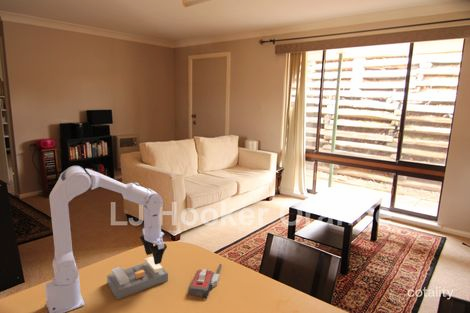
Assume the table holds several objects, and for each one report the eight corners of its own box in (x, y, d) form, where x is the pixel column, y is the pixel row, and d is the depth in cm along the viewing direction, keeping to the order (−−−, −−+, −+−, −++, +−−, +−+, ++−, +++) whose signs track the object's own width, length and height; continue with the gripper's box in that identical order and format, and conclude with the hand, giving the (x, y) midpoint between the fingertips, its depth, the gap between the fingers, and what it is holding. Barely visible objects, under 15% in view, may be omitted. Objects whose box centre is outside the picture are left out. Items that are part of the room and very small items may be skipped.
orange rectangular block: (136, 279, 106) (136, 274, 106) (134, 276, 107) (134, 272, 107) (144, 276, 108) (144, 271, 108) (143, 274, 109) (143, 269, 109)
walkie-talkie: (212, 301, 102) (223, 267, 121) (212, 289, 101) (223, 257, 120) (187, 298, 103) (201, 265, 122) (187, 286, 102) (201, 255, 121)
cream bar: (154, 273, 108) (154, 270, 108) (144, 261, 115) (144, 258, 115) (162, 270, 110) (162, 267, 110) (152, 259, 117) (152, 256, 117)
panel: (117, 299, 100) (116, 291, 100) (107, 282, 109) (106, 275, 108) (167, 280, 111) (167, 273, 111) (155, 266, 120) (155, 259, 119)
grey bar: (120, 285, 101) (120, 281, 101) (111, 272, 108) (111, 269, 108) (129, 282, 103) (129, 278, 103) (120, 269, 110) (120, 266, 110)
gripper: (172, 228, 106) (172, 264, 109) (154, 214, 117) (155, 247, 120) (152, 233, 102) (153, 270, 105) (136, 218, 113) (138, 252, 116)
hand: (153, 258), depth 112 cm, fingers open, 7 cm apart
